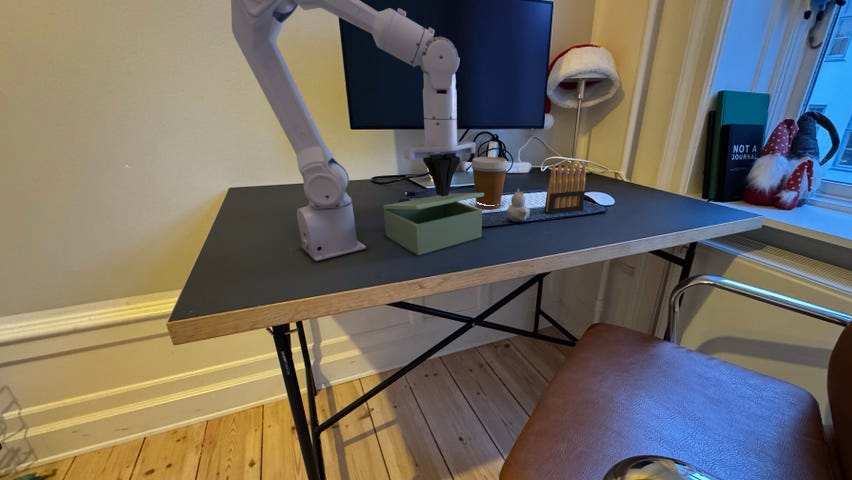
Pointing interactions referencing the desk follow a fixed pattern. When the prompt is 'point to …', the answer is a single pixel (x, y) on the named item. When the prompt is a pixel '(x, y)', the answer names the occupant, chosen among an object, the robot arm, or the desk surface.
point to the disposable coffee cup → (489, 180)
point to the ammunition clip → (566, 190)
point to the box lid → (432, 201)
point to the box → (433, 226)
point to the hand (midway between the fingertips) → (442, 194)
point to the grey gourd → (518, 208)
